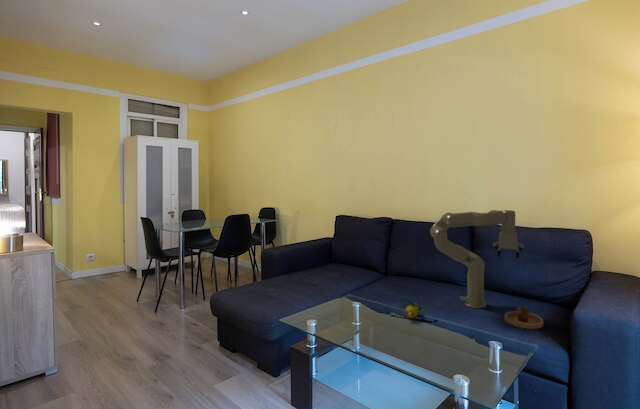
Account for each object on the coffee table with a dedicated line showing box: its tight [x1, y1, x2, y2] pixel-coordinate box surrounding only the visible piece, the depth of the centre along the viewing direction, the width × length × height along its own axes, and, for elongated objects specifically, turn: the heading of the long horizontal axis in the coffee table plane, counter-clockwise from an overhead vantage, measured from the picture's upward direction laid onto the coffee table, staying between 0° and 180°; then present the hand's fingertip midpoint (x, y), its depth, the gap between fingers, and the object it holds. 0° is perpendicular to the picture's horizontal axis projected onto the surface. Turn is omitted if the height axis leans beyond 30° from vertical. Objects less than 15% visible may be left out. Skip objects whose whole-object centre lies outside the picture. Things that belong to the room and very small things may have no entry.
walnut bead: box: [517, 305, 529, 322], centre depth 191 cm, size 5×5×7 cm
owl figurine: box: [388, 302, 423, 320], centre depth 203 cm, size 28×9×15 cm
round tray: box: [503, 310, 544, 330], centre depth 191 cm, size 19×19×2 cm
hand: (508, 257), depth 213 cm, fingers open, 9 cm apart
